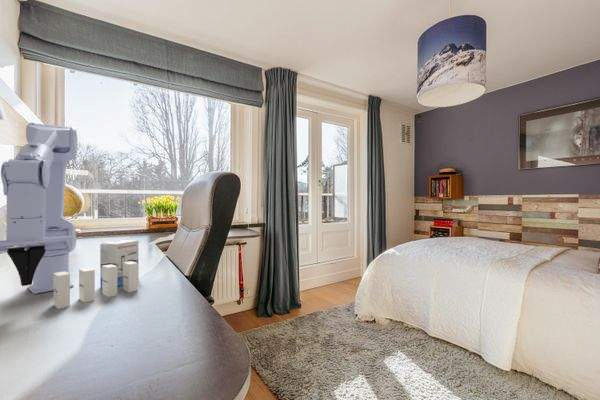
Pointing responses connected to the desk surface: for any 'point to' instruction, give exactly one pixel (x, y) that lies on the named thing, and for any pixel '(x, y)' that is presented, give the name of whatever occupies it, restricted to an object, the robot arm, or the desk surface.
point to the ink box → (118, 256)
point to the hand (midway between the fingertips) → (26, 284)
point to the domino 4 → (130, 276)
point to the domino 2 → (86, 284)
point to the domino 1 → (61, 289)
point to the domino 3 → (109, 280)
